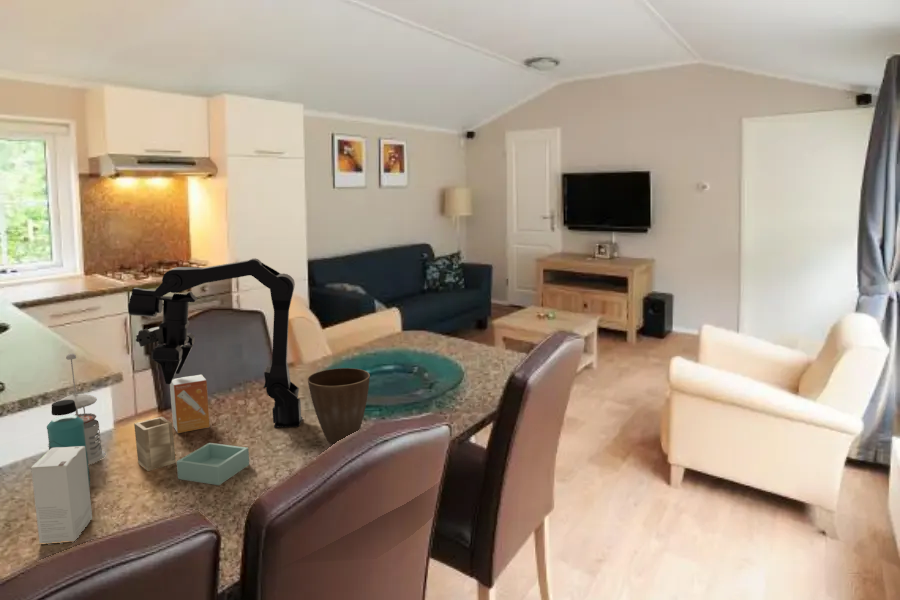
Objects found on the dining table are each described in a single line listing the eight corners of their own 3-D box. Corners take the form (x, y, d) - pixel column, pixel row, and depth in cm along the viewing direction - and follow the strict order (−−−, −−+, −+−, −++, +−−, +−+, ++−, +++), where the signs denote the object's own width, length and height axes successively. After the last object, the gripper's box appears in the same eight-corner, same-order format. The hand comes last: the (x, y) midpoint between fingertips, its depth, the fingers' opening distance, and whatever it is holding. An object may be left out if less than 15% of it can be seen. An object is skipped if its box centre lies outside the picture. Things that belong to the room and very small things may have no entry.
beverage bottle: (65, 490, 126) (53, 396, 123) (98, 488, 126) (88, 395, 123) (47, 505, 120) (34, 407, 116) (82, 503, 120) (71, 406, 117)
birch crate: (165, 455, 143) (161, 416, 141) (175, 462, 139) (172, 422, 137) (138, 463, 139) (134, 423, 137) (147, 471, 134) (144, 430, 133)
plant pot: (344, 455, 141) (341, 389, 139) (297, 442, 149) (294, 379, 147) (383, 434, 154) (382, 373, 151) (339, 423, 162) (336, 365, 159)
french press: (55, 471, 135) (42, 361, 131) (60, 452, 145) (48, 349, 141) (106, 462, 139) (95, 355, 135) (107, 444, 149) (97, 344, 145)
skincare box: (59, 522, 113) (50, 446, 111) (95, 519, 114) (86, 443, 112) (38, 547, 105) (27, 466, 103) (76, 543, 106) (66, 463, 104)
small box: (177, 434, 155) (173, 384, 153) (172, 426, 161) (168, 378, 159) (210, 427, 160) (207, 379, 158) (205, 420, 165) (201, 373, 163)
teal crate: (210, 459, 140) (209, 442, 140) (249, 464, 137) (248, 447, 136) (178, 478, 130) (176, 461, 130) (219, 485, 127) (217, 467, 127)
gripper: (151, 309, 160) (148, 367, 162) (128, 323, 142) (126, 388, 144) (196, 312, 162) (193, 369, 164) (179, 326, 144) (177, 390, 146)
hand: (172, 378), depth 155 cm, fingers open, 9 cm apart
